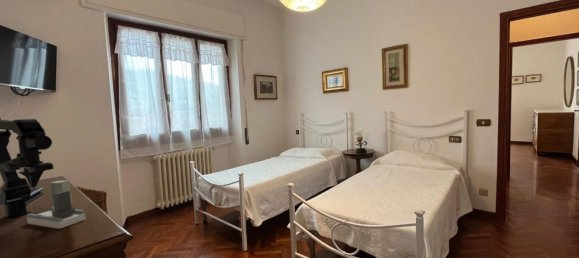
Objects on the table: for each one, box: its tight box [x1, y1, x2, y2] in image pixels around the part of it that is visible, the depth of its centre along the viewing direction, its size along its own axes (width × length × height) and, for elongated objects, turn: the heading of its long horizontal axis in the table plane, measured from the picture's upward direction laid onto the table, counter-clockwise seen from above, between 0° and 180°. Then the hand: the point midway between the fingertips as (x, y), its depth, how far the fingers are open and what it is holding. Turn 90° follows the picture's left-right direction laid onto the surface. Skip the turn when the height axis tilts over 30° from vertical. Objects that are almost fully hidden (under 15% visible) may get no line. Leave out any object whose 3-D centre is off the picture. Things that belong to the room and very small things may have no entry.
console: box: [26, 206, 86, 230], centre depth 109 cm, size 20×9×4 cm, turn 69°
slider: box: [52, 191, 76, 218], centre depth 107 cm, size 5×5×9 cm
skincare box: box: [49, 179, 74, 207], centre depth 127 cm, size 6×4×12 cm
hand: (33, 187), depth 113 cm, fingers closed
